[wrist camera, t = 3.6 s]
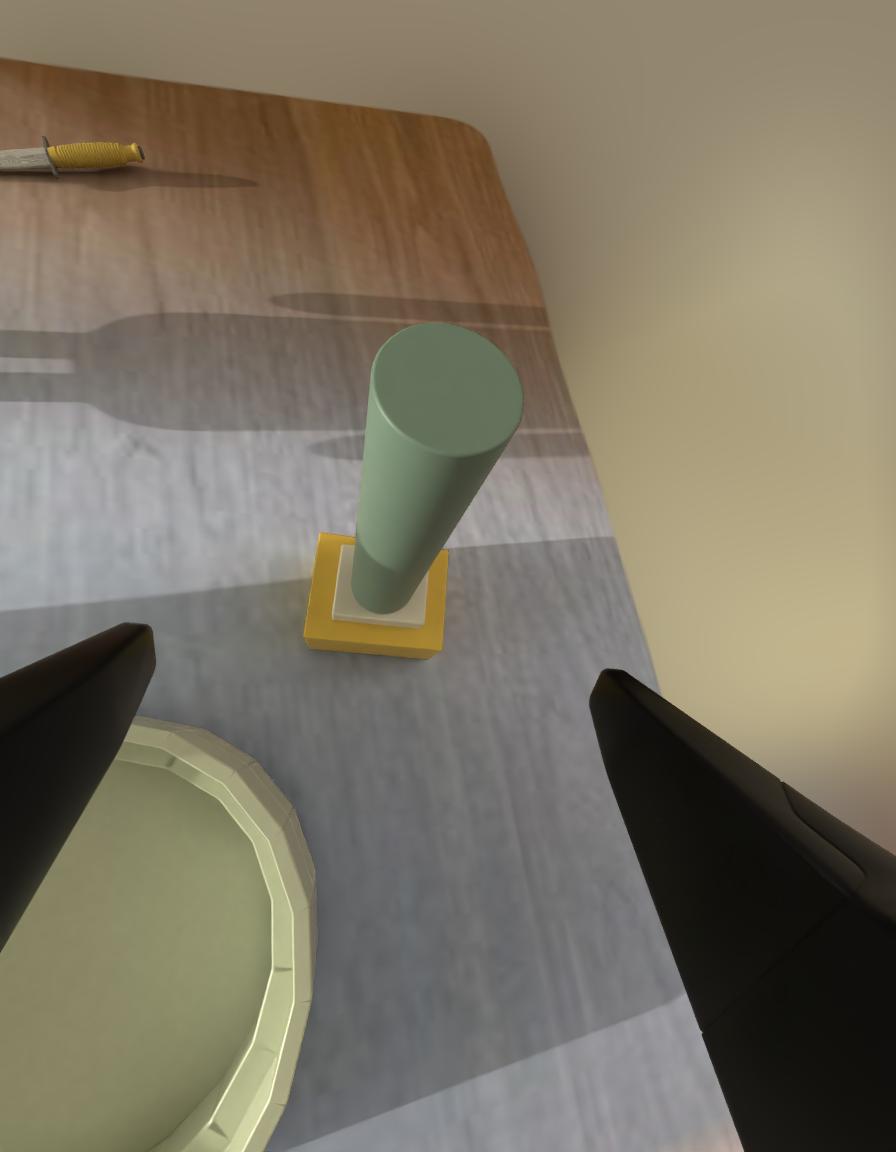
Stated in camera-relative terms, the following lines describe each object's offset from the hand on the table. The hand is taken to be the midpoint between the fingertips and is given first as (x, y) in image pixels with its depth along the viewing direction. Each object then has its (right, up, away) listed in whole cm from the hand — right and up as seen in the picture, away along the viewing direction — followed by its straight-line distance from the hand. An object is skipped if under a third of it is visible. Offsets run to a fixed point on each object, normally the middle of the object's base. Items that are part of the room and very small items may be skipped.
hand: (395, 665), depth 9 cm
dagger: (-19, +21, +13) cm, 31 cm away
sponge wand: (-2, 0, +11) cm, 11 cm away
